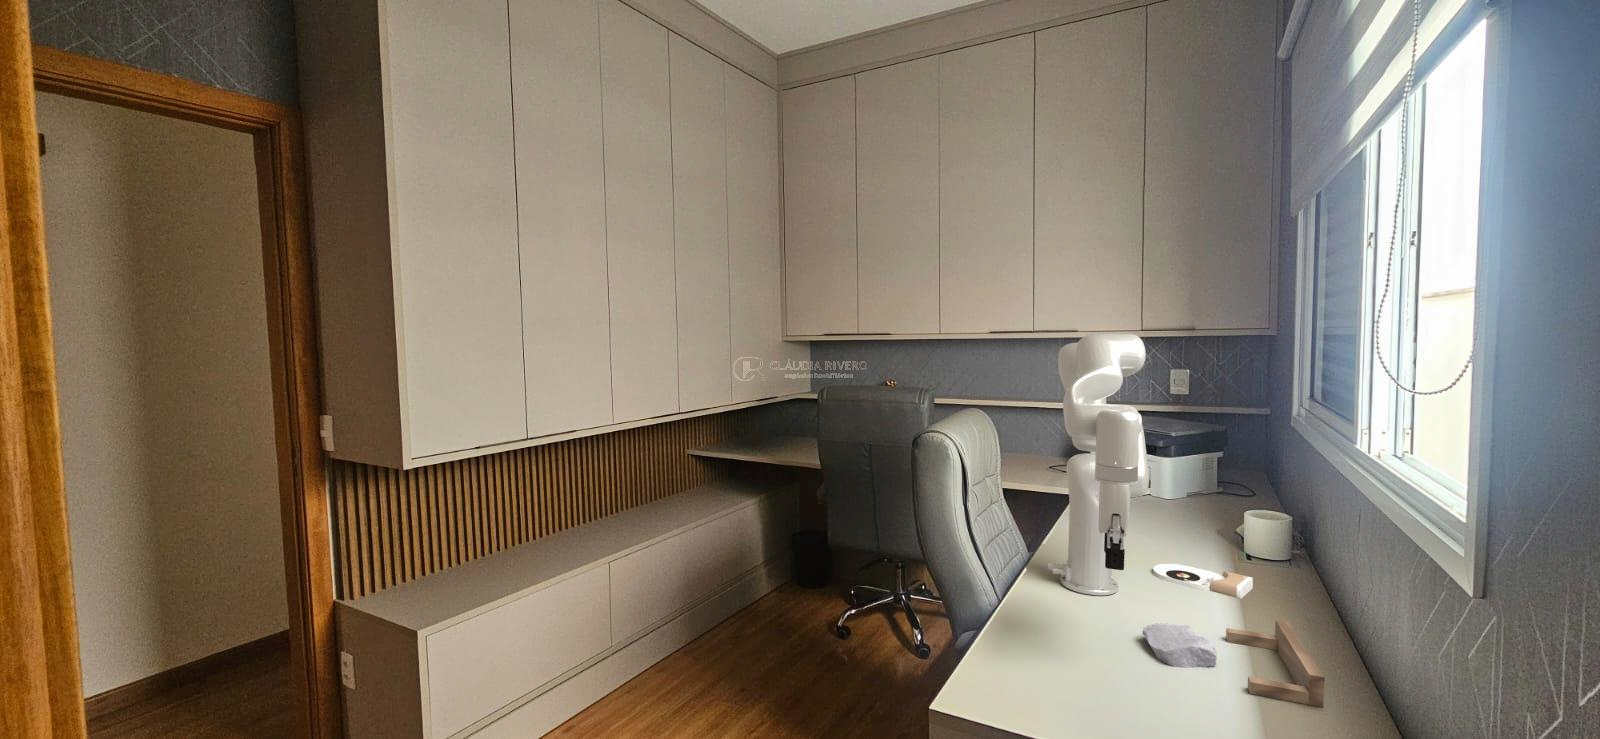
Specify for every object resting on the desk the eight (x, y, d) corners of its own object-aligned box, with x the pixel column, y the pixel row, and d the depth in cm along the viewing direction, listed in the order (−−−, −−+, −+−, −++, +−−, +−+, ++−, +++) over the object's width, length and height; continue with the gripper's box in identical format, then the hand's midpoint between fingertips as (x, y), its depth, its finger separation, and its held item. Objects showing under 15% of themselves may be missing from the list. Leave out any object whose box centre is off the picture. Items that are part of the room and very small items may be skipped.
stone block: (1169, 678, 121) (1223, 667, 120) (1164, 653, 121) (1218, 642, 120) (1136, 649, 133) (1186, 639, 132) (1131, 625, 132) (1181, 615, 132)
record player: (1239, 588, 150) (1145, 565, 165) (1238, 602, 150) (1145, 578, 165) (1254, 575, 158) (1164, 554, 173) (1254, 588, 158) (1163, 566, 173)
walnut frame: (1250, 693, 112) (1251, 664, 112) (1225, 637, 132) (1227, 613, 132) (1323, 707, 108) (1324, 677, 108) (1286, 647, 128) (1288, 622, 128)
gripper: (1094, 463, 138) (1092, 545, 139) (1095, 480, 122) (1092, 572, 123) (1135, 466, 135) (1132, 550, 136) (1141, 484, 119) (1138, 578, 120)
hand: (1113, 560), depth 129 cm, fingers open, 9 cm apart
